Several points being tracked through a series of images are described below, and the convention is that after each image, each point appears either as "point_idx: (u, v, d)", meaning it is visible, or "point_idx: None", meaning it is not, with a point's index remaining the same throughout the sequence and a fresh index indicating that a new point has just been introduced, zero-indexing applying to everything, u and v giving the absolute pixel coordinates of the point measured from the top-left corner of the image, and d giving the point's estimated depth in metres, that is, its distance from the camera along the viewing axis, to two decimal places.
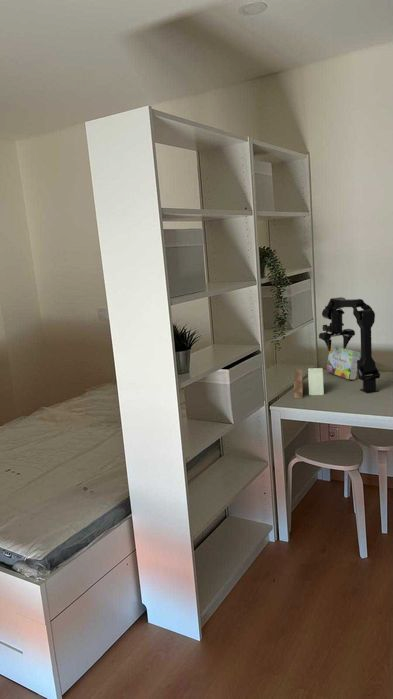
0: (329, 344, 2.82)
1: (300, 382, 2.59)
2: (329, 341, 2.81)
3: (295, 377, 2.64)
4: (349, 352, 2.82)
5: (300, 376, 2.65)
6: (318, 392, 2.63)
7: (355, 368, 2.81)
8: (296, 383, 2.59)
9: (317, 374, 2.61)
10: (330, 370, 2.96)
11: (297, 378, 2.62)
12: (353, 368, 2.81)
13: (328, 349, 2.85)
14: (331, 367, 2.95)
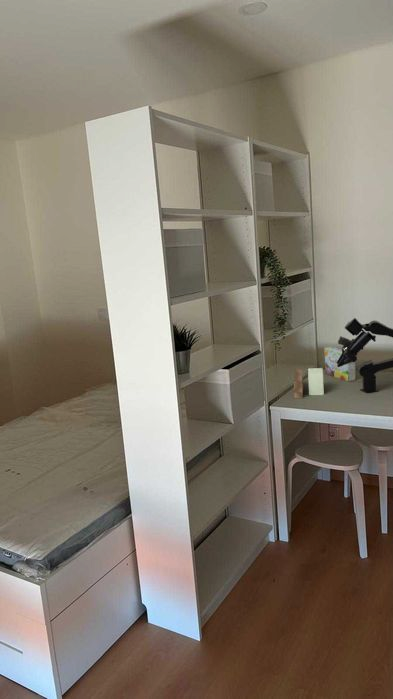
0: (347, 363, 2.58)
1: (300, 382, 2.59)
2: None
3: (295, 377, 2.64)
4: None
5: (300, 376, 2.65)
6: (318, 392, 2.63)
7: (353, 369, 2.81)
8: (296, 383, 2.59)
9: (317, 374, 2.61)
10: (329, 372, 2.96)
11: (297, 378, 2.62)
12: (351, 370, 2.81)
13: (338, 364, 2.60)
14: (329, 369, 2.95)
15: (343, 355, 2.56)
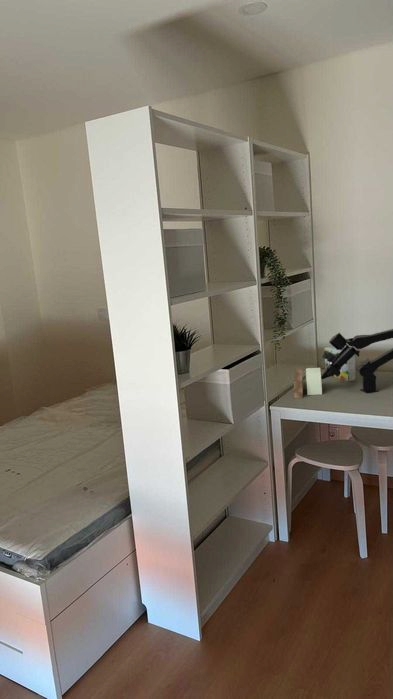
0: None
1: (300, 382, 2.59)
2: None
3: (295, 377, 2.64)
4: None
5: (300, 376, 2.65)
6: (317, 392, 2.63)
7: (353, 369, 2.81)
8: (296, 383, 2.59)
9: (315, 374, 2.61)
10: None
11: (297, 378, 2.62)
12: (351, 370, 2.81)
13: (322, 377, 2.65)
14: None
15: (327, 368, 2.62)
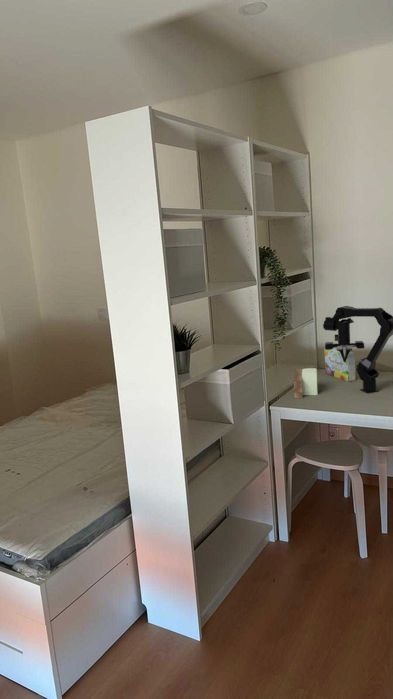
0: (341, 354, 2.67)
1: (300, 382, 2.59)
2: (340, 351, 2.66)
3: (295, 377, 2.64)
4: None
5: (300, 376, 2.65)
6: (312, 392, 2.64)
7: (353, 369, 2.81)
8: (296, 383, 2.59)
9: (311, 374, 2.62)
10: (329, 372, 2.96)
11: (297, 378, 2.62)
12: (351, 370, 2.81)
13: (343, 360, 2.70)
14: (329, 369, 2.95)
15: None
